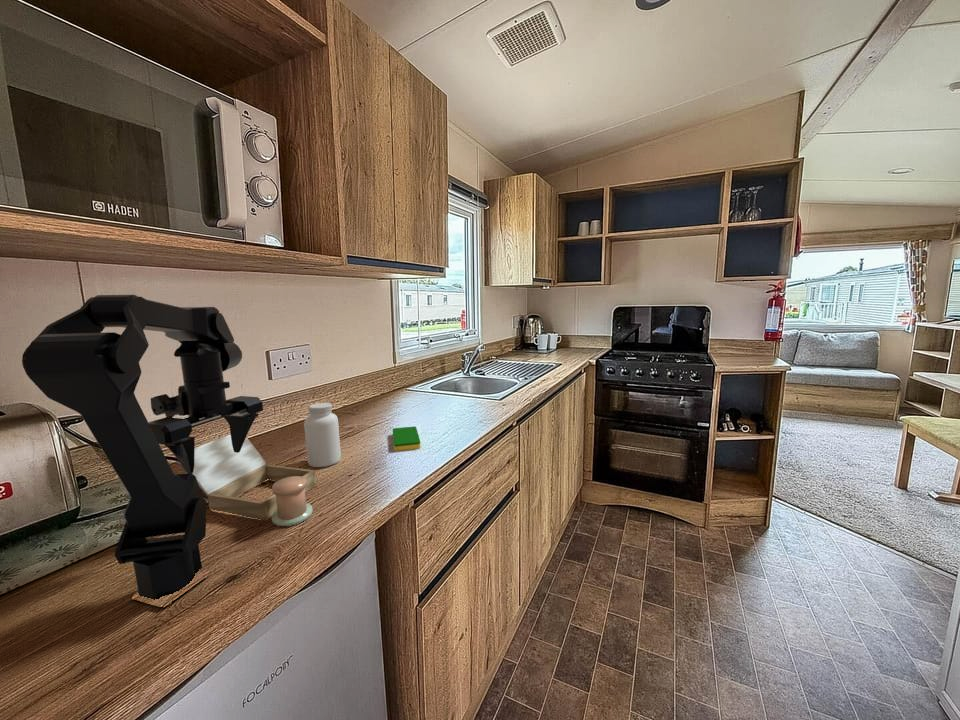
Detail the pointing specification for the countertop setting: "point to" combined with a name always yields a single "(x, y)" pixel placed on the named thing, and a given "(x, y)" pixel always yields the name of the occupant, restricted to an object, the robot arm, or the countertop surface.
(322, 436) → the pill bottle
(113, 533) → the countertop surface
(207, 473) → the cold frame
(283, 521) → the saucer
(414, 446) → the dish sponge
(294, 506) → the tan knob
